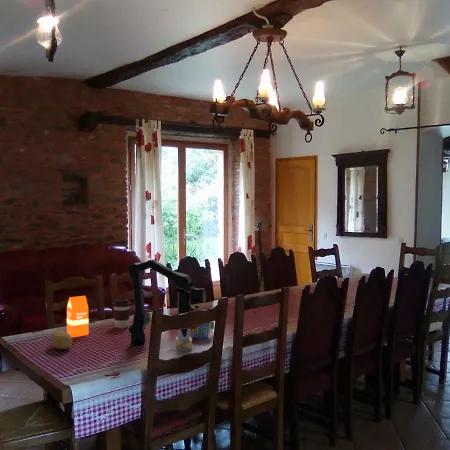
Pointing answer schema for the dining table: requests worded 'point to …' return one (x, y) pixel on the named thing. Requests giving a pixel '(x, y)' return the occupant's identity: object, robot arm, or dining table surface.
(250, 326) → the dining table surface
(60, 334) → the potato
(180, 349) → the build mat
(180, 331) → the blue cube
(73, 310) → the orange juice
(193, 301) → the robot arm
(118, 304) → the coffee cup
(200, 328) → the snack cup
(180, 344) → the oak block
